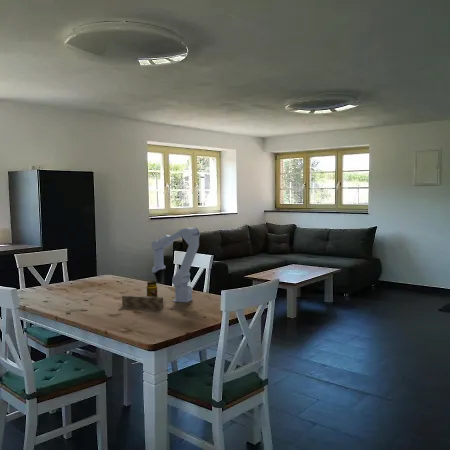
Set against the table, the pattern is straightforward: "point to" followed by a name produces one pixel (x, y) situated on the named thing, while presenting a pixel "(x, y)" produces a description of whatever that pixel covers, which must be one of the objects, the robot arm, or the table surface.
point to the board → (142, 302)
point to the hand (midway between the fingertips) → (159, 282)
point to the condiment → (151, 289)
